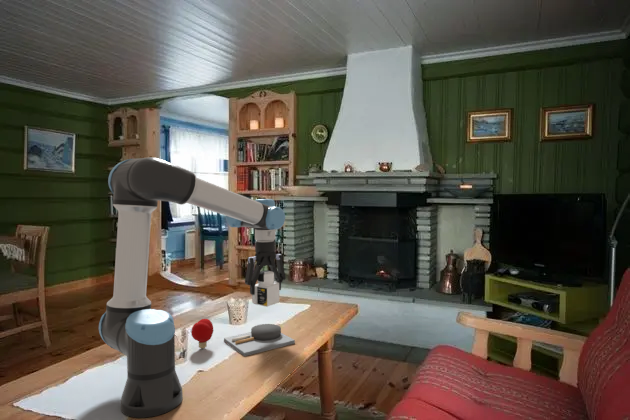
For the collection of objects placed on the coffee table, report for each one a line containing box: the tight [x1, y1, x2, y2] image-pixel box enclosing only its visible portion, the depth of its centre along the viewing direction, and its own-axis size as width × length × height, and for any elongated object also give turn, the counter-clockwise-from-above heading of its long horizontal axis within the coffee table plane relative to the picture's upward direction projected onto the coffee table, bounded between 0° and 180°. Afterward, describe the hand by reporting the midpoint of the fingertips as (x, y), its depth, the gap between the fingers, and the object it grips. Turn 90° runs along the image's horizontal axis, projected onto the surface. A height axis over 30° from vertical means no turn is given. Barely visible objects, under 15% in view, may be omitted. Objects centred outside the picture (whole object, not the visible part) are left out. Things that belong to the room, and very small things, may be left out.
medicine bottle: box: [252, 270, 280, 308], centre depth 155 cm, size 7×7×12 cm
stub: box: [250, 323, 282, 341], centre depth 156 cm, size 11×11×2 cm
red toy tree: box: [190, 318, 214, 350], centre depth 146 cm, size 9×7×10 cm
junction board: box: [223, 331, 296, 357], centre depth 152 cm, size 20×17×2 cm
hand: (265, 300), depth 156 cm, fingers closed on medicine bottle, 9 cm apart
